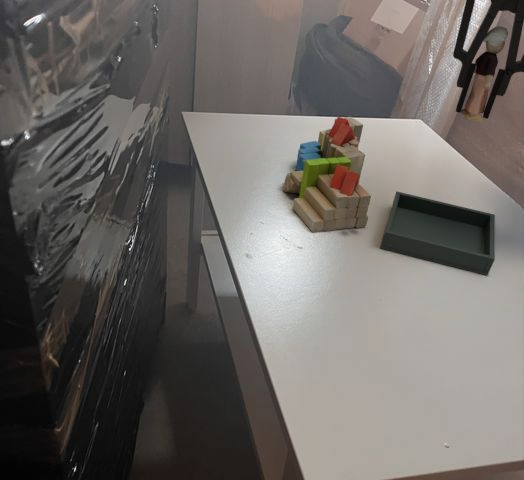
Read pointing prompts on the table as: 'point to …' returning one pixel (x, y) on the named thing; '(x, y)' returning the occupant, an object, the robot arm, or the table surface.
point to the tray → (441, 233)
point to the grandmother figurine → (484, 74)
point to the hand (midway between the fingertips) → (472, 112)
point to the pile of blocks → (331, 179)
